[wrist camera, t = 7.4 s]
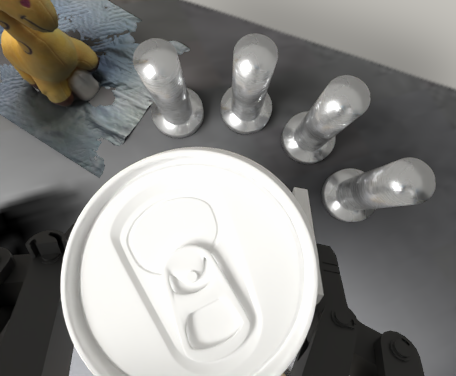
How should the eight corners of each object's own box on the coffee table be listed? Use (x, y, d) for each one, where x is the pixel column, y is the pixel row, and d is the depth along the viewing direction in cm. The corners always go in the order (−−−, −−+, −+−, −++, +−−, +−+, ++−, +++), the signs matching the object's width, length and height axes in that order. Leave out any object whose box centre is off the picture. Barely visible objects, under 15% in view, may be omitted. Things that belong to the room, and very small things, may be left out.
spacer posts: (383, 114, 27) (462, 59, 18) (369, 226, 25) (447, 227, 16) (164, 71, 27) (134, -4, 18) (136, 179, 26) (89, 155, 17)
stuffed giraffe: (99, 178, 26) (-100, 84, 10) (-39, 88, 27) (-394, -111, 12) (190, 54, 28) (145, -175, 13) (58, -21, 30) (-126, -304, 14)
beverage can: (240, 171, 20) (256, 89, 8) (289, 271, 19) (392, 351, 7) (141, 217, 19) (2, 203, 8) (185, 322, 18) (105, 500, 7)
